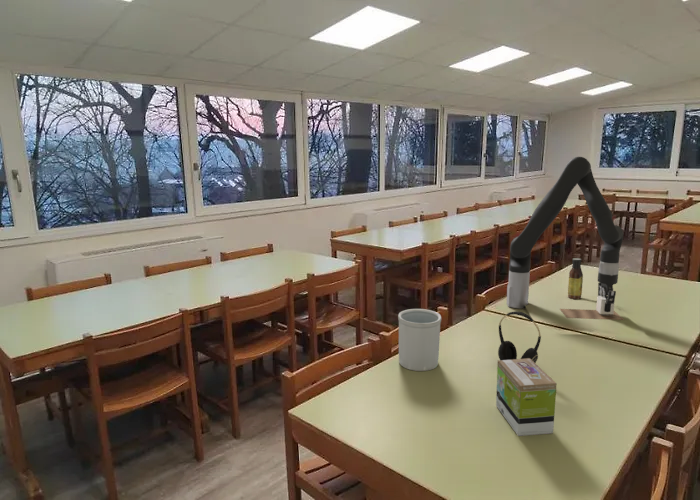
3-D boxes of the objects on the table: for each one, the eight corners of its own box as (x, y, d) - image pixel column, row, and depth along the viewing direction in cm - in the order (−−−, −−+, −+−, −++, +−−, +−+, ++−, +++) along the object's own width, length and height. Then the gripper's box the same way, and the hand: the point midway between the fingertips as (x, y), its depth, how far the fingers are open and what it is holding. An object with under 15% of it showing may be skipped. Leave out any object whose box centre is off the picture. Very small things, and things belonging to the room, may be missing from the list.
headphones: (532, 379, 148) (535, 320, 144) (490, 365, 159) (493, 310, 155) (544, 370, 154) (548, 314, 150) (503, 357, 165) (506, 304, 161)
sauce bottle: (582, 299, 226) (586, 260, 223) (569, 299, 228) (572, 260, 224) (579, 296, 233) (582, 257, 229) (565, 295, 234) (568, 257, 230)
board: (566, 321, 199) (566, 317, 198) (559, 311, 210) (559, 308, 210) (624, 323, 195) (624, 319, 194) (613, 313, 206) (613, 310, 206)
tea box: (494, 406, 133) (496, 358, 130) (527, 404, 134) (530, 356, 131) (517, 437, 118) (520, 384, 115) (554, 434, 119) (558, 382, 116)
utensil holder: (443, 356, 166) (444, 310, 163) (436, 374, 153) (437, 325, 149) (403, 351, 171) (403, 306, 168) (393, 369, 158) (393, 320, 154)
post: (602, 315, 200) (603, 303, 199) (600, 313, 203) (601, 301, 202) (608, 315, 200) (609, 303, 199) (606, 313, 202) (607, 301, 201)
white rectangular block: (600, 313, 199) (601, 299, 198) (596, 309, 204) (597, 295, 203) (613, 314, 198) (614, 299, 197) (608, 310, 203) (610, 296, 202)
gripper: (593, 267, 205) (590, 304, 208) (605, 276, 191) (601, 314, 195) (611, 268, 204) (607, 304, 207) (624, 276, 190) (620, 315, 193)
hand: (604, 309), depth 201 cm, fingers open, 5 cm apart
